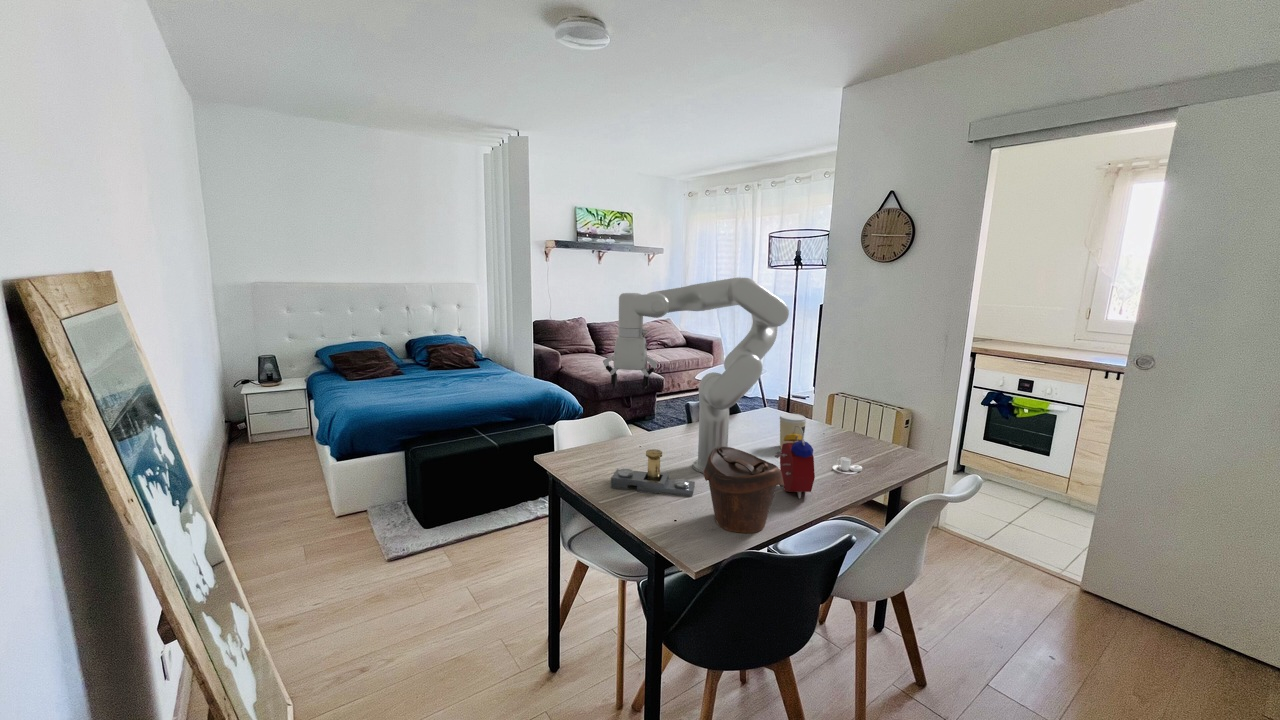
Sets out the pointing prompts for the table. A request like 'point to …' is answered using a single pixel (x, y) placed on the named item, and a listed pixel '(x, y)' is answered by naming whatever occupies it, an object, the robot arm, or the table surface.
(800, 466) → the alarm clock
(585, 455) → the table surface
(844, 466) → the teacup and saucer
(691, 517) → the table surface
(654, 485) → the grey bolted base plate
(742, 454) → the brown flower pot
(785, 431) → the coffee cup
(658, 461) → the pin
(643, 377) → the robot arm
